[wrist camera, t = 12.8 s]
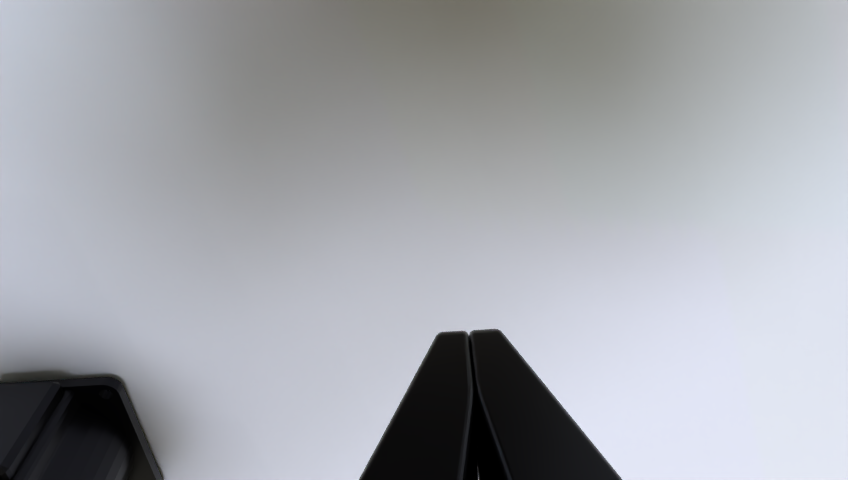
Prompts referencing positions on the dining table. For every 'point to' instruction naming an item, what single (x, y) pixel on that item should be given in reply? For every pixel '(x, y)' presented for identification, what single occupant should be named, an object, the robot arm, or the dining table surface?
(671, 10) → the dining table surface
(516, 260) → the dining table surface
